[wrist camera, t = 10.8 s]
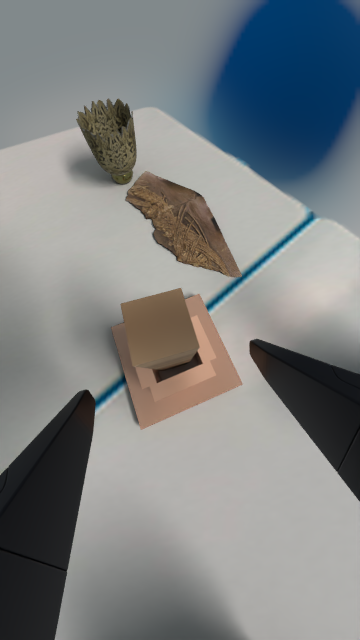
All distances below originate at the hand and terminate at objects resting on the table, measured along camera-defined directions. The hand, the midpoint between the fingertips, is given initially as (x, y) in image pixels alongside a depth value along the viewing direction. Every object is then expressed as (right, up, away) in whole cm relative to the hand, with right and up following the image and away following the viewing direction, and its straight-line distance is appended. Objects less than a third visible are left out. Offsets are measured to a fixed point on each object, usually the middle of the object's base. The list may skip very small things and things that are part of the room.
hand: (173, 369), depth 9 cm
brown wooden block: (0, -1, +11) cm, 11 cm away
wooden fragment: (+1, +18, +19) cm, 26 cm away
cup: (-10, +28, +21) cm, 36 cm away
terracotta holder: (0, -2, +12) cm, 12 cm away
